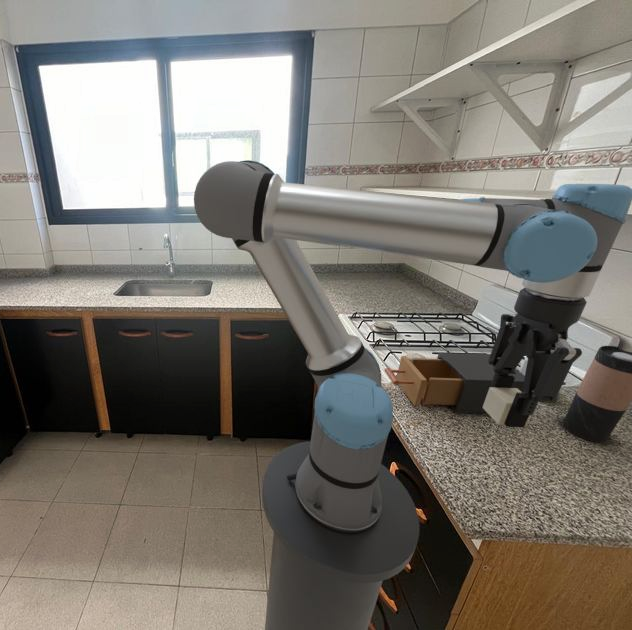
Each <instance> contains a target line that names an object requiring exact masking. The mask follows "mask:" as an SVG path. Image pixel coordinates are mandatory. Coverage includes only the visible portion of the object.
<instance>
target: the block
mask: <svg viewBox="0 0 632 630" xmlns="http://www.w3.org/2000/svg"><path fill="white" fill-rule="evenodd" d="M517 392H518V393H522V392H521V391H520V390H518V389H517V388H496V387H490V388H489V391H488V394H487V396H486V399H485V402H484V405H483V409H484V410H485V411H486V412H487V413H488V415H489V416H490V417H491V418H492V419H493V420H494V422H495V423H496V424H497V425H499V426H500V425H502V426H506V425H505V424H504V423H505V420H506V418H507V415H508V413H509V411H510V408H511V406H512V403H513V400H514V398H515V395H516V393H517ZM531 417H532V415H529V417H528V419H527V422H526V424H525V426H524V427H527V426H528V425H529V423H530V420H531Z"/></svg>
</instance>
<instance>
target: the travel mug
mask: <svg viewBox="0 0 632 630" xmlns="http://www.w3.org/2000/svg"><path fill="white" fill-rule="evenodd" d="M631 403H632V351H627V350H624V349H622V348H620V347H619V346H615V345H602V346H600V347H599V348H598V349H597V351H596V354H595V355H594V357H593V359H592V360H591V363H590V365H589V367H588V369H587V371H586V373H585V375H584V377H583V378H582V380H581V382H580V384H579V386H578V388H577V390H576V391H575V394H574V396H573V399H572V401H571V404H570V406H569V407H568V410H567V412H566V414H565V417H564V418H563V422H562V424H563V427H564V428H565V429H566V430H567V431H568V432H570V433H572V434H573V435H575V436H577V437H579V438H582V439H584V440H587V441H591V442H596V443H603V442H605V441H607V440H608V439H609V437H610V436H611V434H612V433H613V431H614V429H616V427H617V425H618V424H619V422H620V420H621V419H622V417H623V416H624V414H625V413H626V412H627V410H628V409H629V407H630V405H631Z"/></svg>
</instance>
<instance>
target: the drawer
mask: <svg viewBox="0 0 632 630" xmlns="http://www.w3.org/2000/svg"><path fill="white" fill-rule="evenodd" d="M384 372H385V374H386V375H387V377H388V379H390V381H391V383H392V384H393V386H398V385H399V387H400V388H401V390H402V391H403V392H404V394H405V395H406V396H407V398H408V399H409V401H410V402H411V403H412V405H413V406H414V407H420V406H421V404H422V403H423V405H441V406H443V405H444V406H450V405H456V403H457V400H458V397H459V394H460V391H461V388H462V385H463V382H464V380H463V379H462V378H461V377H460V376H459V375H458V374H457V373H456V372H455V371H454V370H453V369H452V368H451V367H450V366H449V365H448V364H447V363H446V362H445V361H443V360H442V359H437V358H427V357H426V358H425V357H423V358H421V357H412V358H411V360H410V359H409V357H408V356H407V355H401V357H400V361H399V366H398V369H391V368H390V367H386V368H385V369H384ZM395 374H396V375H395ZM421 402H422V403H421Z"/></svg>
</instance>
